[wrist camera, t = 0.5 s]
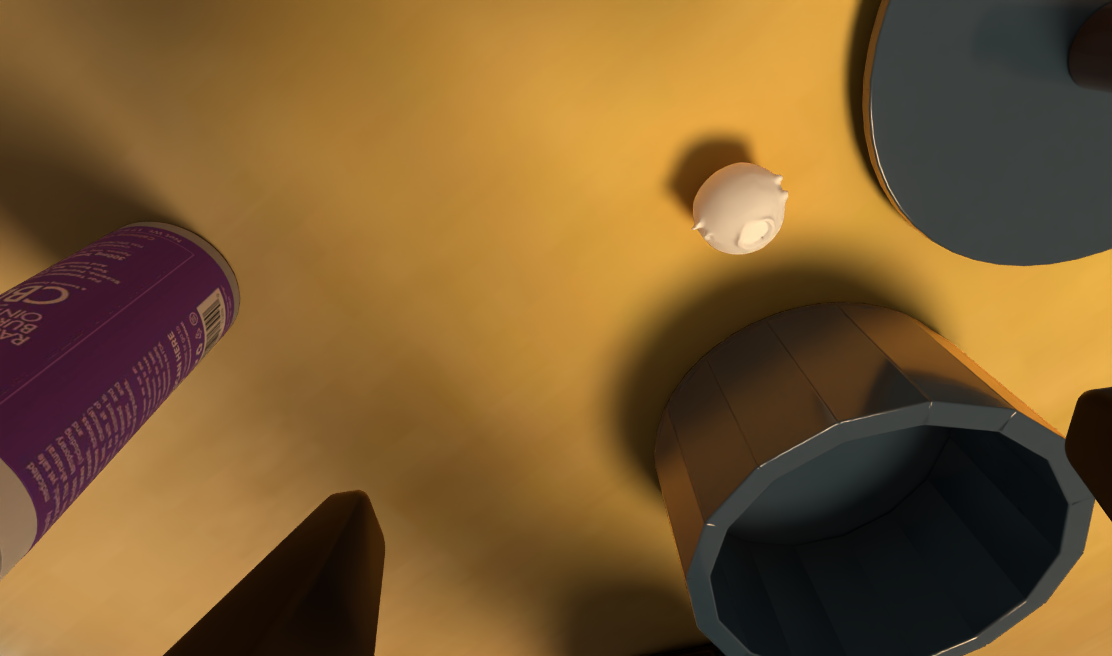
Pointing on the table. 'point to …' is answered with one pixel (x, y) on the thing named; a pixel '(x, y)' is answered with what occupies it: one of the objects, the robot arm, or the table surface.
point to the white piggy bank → (740, 208)
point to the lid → (995, 124)
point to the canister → (861, 491)
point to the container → (97, 362)
